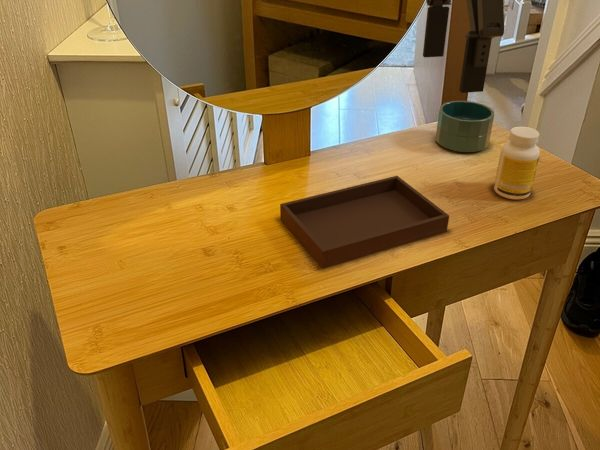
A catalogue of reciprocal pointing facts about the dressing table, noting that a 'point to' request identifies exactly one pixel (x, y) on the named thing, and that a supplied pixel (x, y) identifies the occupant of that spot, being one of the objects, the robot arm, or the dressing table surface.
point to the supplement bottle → (517, 164)
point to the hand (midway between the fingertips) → (450, 72)
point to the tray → (362, 220)
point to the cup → (464, 126)
